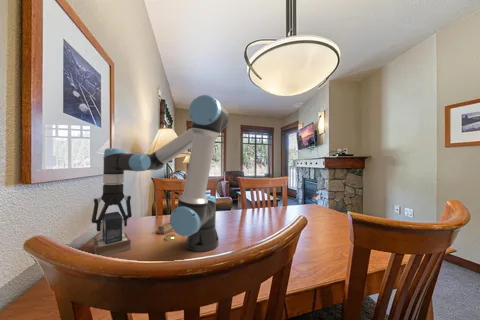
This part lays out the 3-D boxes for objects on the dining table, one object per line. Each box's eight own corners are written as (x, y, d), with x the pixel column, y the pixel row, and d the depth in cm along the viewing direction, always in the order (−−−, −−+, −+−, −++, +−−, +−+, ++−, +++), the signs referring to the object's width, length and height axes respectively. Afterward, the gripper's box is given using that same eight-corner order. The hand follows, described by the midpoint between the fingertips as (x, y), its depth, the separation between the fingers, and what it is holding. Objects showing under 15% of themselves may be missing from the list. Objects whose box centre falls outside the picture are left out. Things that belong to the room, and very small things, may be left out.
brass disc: (168, 235, 98) (168, 233, 98) (177, 236, 97) (177, 234, 97) (163, 240, 93) (163, 238, 93) (172, 241, 93) (172, 239, 92)
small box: (101, 237, 85) (101, 213, 85) (118, 233, 89) (118, 211, 89) (104, 245, 77) (104, 219, 77) (122, 240, 81) (123, 216, 81)
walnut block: (171, 232, 104) (172, 224, 104) (164, 235, 100) (164, 227, 100) (165, 230, 107) (166, 223, 107) (158, 233, 103) (158, 225, 103)
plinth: (130, 249, 83) (130, 239, 83) (95, 258, 75) (96, 247, 75) (124, 240, 92) (124, 231, 92) (93, 247, 84) (93, 238, 84)
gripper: (136, 181, 93) (135, 228, 93) (83, 184, 80) (81, 239, 79) (140, 183, 87) (139, 233, 87) (84, 186, 74) (82, 245, 74)
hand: (112, 235), depth 83 cm, fingers open, 7 cm apart
